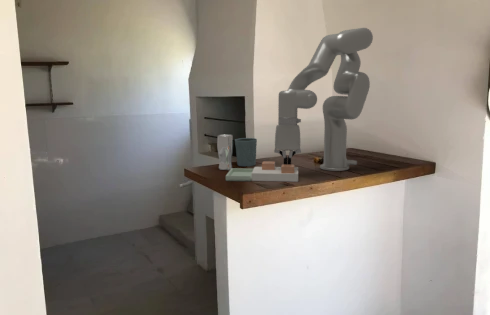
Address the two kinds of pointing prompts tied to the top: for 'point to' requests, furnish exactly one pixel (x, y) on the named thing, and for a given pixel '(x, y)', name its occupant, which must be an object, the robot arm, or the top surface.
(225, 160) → the beer glass
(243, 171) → the tray
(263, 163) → the far tile
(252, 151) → the grey cup
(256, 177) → the white slab
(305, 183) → the top surface
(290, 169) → the near tile
